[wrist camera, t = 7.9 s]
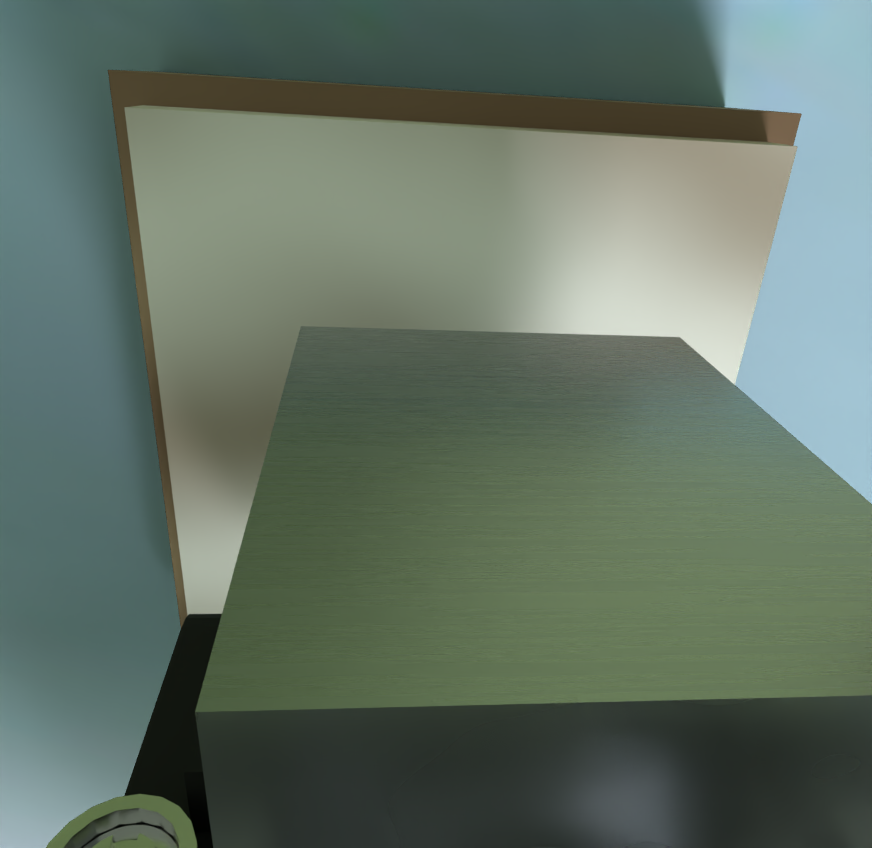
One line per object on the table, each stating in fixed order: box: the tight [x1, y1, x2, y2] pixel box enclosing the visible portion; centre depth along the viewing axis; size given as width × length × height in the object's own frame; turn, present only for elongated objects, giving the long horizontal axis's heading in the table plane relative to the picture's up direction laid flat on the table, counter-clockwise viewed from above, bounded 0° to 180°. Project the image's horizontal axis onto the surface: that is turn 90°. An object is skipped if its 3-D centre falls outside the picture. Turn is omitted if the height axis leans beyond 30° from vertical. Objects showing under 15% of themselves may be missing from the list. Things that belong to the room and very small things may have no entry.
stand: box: [108, 70, 801, 628], centre depth 16 cm, size 14×12×4 cm
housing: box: [195, 326, 872, 848], centre depth 8 cm, size 5×8×7 cm, turn 177°
